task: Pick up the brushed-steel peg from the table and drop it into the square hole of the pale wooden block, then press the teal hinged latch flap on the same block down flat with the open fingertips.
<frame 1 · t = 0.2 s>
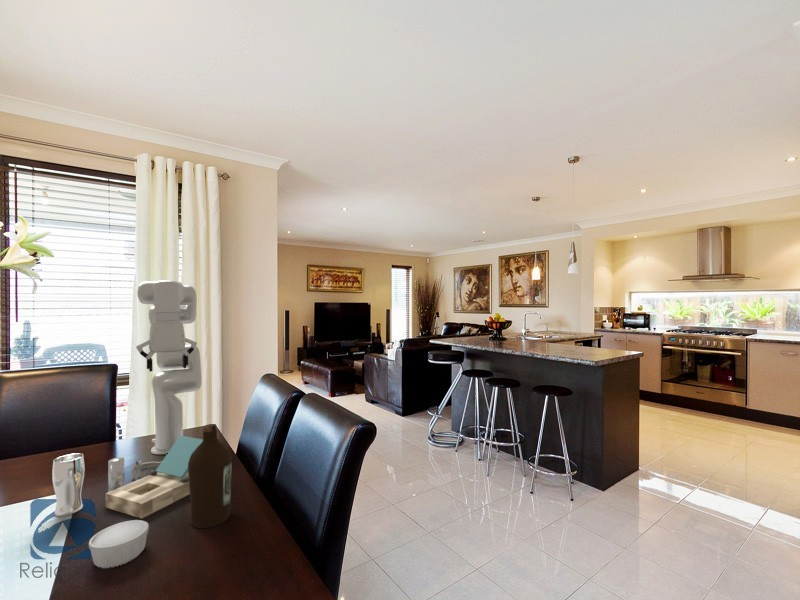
hand: (167, 369, 128), 37 cm above the table, tool pointing down, fingers open, 9 cm apart
latch flap: (181, 455, 124), point 9 cm above the table, hinge at 45.0°
steel peg: (116, 492, 120), on the table
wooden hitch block: (161, 494, 118), on the table
caliper: (164, 470, 137), on the table
ramekin: (120, 556, 89), on the table
olive oil: (211, 519, 104), on the table
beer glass: (69, 511, 110), on the table
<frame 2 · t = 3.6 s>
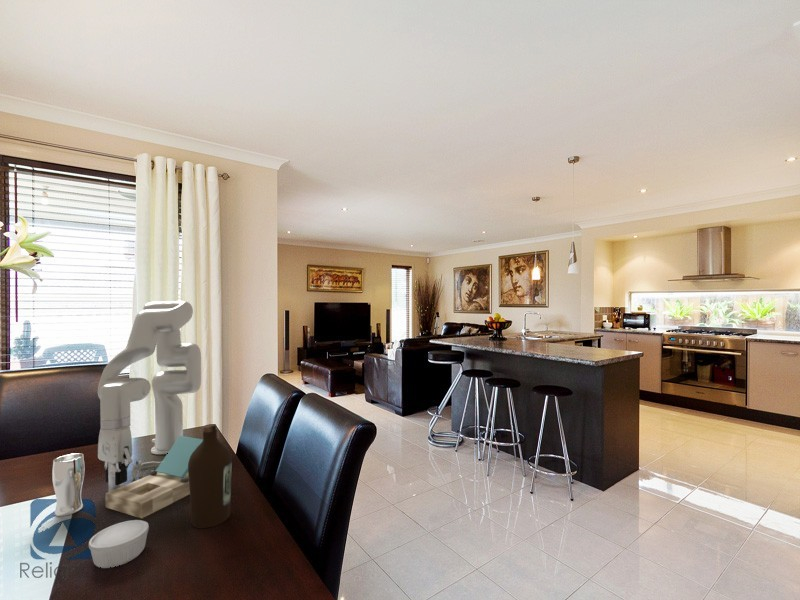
hand: (116, 481, 120), 3 cm above the table, tool pointing down, fingers closed on steel peg, 4 cm apart
steel peg: (116, 492, 120), on the table, touching gripper
everything else where it was.
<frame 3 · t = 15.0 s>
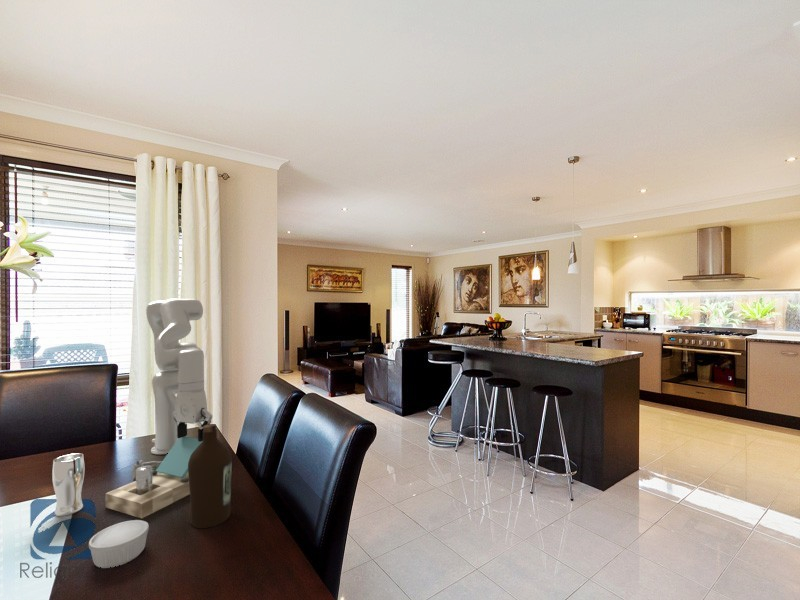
hand: (192, 438, 128), 14 cm above the table, tool pointing down
latch flap: (182, 456, 124), point 9 cm above the table, hinge at 43.7°, touching gripper
steel peg: (144, 502, 113), resting in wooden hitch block
everything else where it was.
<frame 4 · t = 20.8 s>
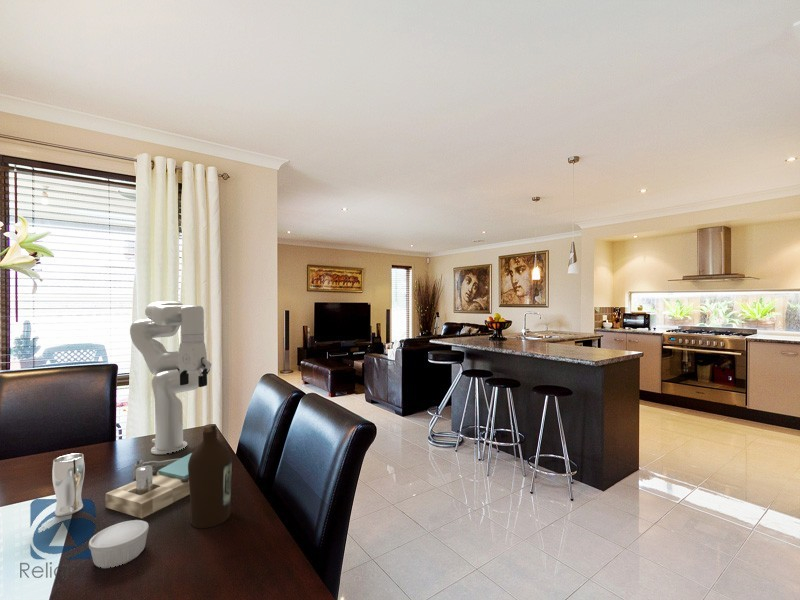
hand: (193, 385, 142), 28 cm above the table, tool pointing down, fingers open, 9 cm apart
latch flap: (188, 465, 126), point 5 cm above the table, hinge at 6.2°
everything else where it was.
at the end: steel peg 0.1 cm from the target spot on the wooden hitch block, point 0.0 cm above the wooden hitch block's base; steel peg tilted 0°; latch flap at +6° (first picture: +45°) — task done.
